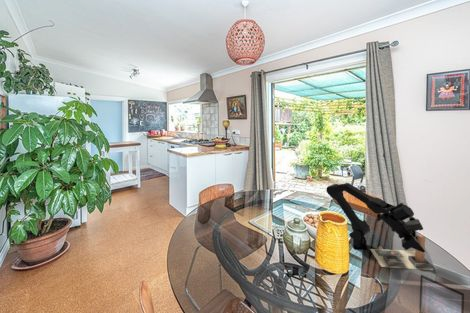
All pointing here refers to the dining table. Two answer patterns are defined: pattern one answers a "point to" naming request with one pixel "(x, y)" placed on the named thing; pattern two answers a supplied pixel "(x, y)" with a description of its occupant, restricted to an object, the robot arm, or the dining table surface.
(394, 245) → the dining table surface
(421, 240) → the terracotta pin
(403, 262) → the pin board
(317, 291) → the dining table surface
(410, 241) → the robot arm
